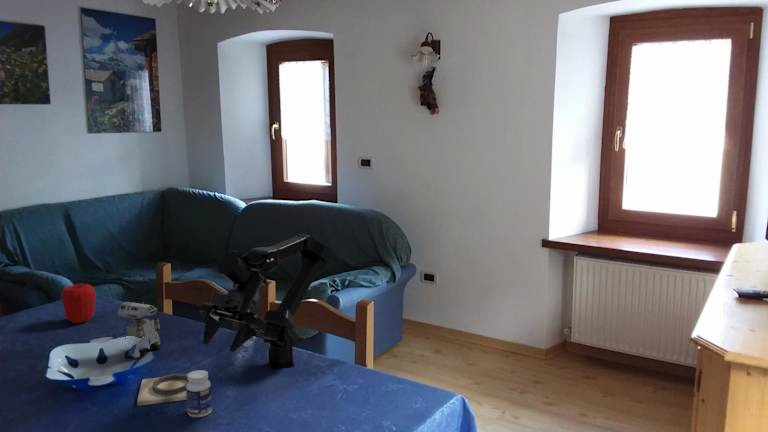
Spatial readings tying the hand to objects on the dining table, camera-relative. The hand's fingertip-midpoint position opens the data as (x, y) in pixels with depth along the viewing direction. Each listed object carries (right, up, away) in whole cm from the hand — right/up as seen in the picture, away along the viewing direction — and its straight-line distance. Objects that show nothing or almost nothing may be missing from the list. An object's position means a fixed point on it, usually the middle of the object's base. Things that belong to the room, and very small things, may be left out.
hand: (217, 348), depth 156 cm
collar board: (-13, -12, +7) cm, 19 cm away
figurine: (-32, -8, +31) cm, 45 cm away
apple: (-62, -3, +57) cm, 84 cm away
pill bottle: (-3, -15, -5) cm, 16 cm away
